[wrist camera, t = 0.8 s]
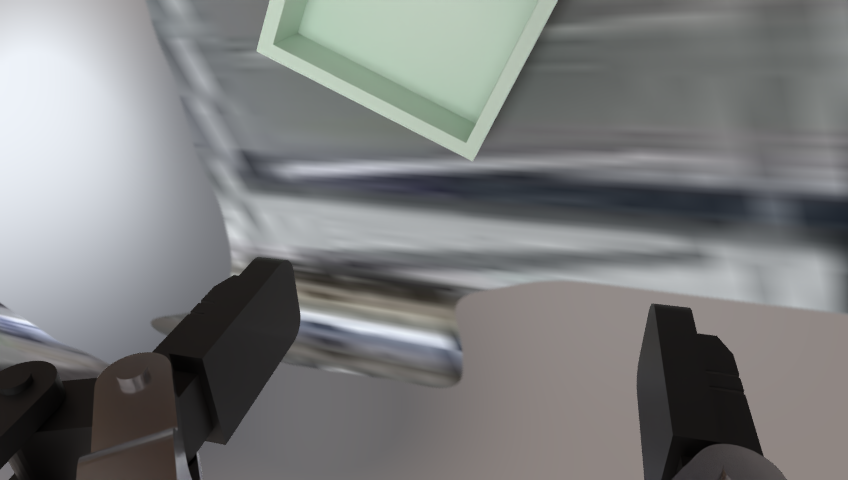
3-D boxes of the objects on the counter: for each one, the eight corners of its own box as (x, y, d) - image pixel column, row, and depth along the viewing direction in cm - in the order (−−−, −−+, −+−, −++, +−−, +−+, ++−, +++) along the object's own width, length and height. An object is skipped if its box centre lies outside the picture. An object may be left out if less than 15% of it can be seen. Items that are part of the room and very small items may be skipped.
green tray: (347, -173, 31) (318, -182, 28) (582, -52, 31) (581, -46, 28) (286, 37, 37) (256, 51, 34) (483, 137, 37) (472, 161, 34)
